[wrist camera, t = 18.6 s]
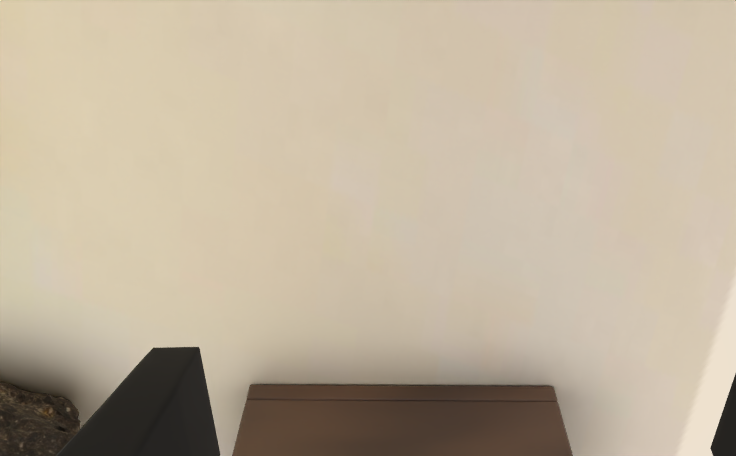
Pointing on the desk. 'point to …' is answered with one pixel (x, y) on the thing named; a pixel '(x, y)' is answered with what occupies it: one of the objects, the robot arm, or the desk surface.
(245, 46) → the desk surface
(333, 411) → the box
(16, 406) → the rock
